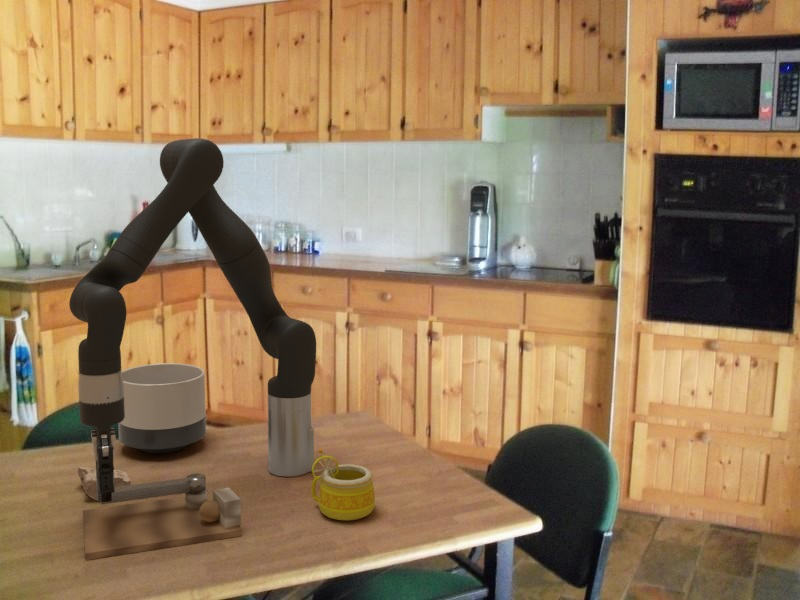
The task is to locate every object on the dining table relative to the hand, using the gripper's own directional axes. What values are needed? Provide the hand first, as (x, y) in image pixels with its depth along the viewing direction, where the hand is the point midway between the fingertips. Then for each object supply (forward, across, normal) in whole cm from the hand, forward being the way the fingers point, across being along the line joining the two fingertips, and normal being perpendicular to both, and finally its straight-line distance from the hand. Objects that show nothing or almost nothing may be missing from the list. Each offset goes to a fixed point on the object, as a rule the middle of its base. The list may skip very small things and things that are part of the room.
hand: (105, 487), depth 146 cm
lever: (+3, 0, -8) cm, 9 cm away
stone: (+8, +16, 0) cm, 18 cm away
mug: (+7, -9, -42) cm, 44 cm away
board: (+7, -4, -9) cm, 12 cm away
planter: (+7, +38, -14) cm, 41 cm away
